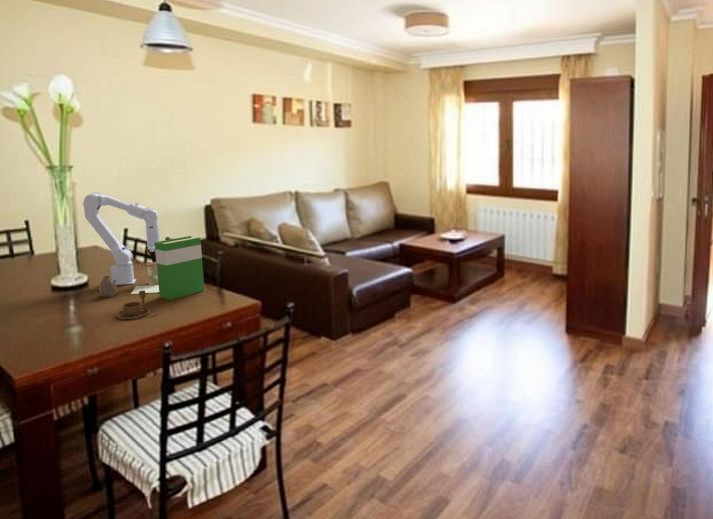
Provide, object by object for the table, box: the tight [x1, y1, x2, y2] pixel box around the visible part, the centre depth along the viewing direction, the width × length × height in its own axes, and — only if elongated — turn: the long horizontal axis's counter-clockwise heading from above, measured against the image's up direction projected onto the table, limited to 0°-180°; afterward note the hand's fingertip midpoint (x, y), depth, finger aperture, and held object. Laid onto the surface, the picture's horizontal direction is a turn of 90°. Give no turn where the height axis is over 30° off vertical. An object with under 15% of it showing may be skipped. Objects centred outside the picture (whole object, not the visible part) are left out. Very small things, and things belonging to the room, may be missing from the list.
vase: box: [98, 275, 118, 298], centre depth 236 cm, size 7×7×9 cm
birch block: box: [146, 261, 158, 285], centre depth 254 cm, size 5×5×10 cm
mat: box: [130, 284, 159, 295], centre depth 246 cm, size 16×13×1 cm
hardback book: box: [155, 235, 205, 301], centre depth 236 cm, size 18×7×24 cm, turn 142°
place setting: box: [116, 291, 157, 320], centre depth 214 cm, size 18×20×6 cm
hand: (155, 263), depth 259 cm, fingers closed
